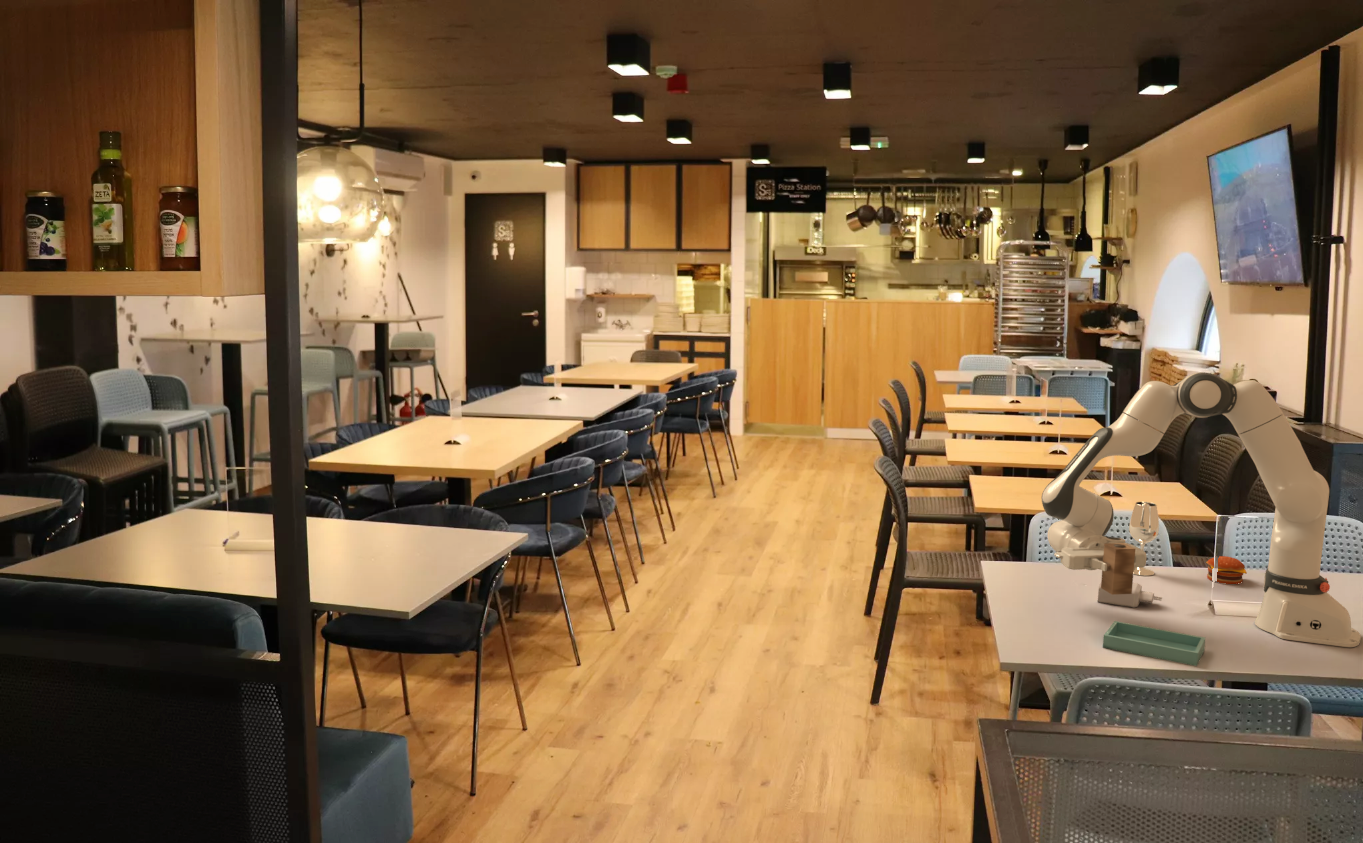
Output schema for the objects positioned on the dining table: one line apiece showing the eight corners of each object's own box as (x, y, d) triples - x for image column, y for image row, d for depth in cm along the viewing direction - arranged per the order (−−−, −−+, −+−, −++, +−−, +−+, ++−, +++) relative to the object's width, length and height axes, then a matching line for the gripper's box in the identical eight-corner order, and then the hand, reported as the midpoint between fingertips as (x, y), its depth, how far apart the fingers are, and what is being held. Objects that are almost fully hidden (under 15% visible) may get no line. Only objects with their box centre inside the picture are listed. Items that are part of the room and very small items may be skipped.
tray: (1204, 650, 259) (1205, 637, 258) (1196, 666, 249) (1197, 653, 248) (1113, 632, 269) (1114, 620, 269) (1102, 647, 259) (1103, 635, 259)
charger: (1159, 613, 285) (1097, 603, 292) (1162, 603, 293) (1102, 594, 300) (1160, 595, 284) (1098, 585, 291) (1164, 585, 292) (1103, 576, 299)
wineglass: (1119, 569, 322) (1125, 502, 319) (1139, 567, 325) (1145, 499, 322) (1140, 577, 315) (1146, 508, 312) (1161, 574, 318) (1167, 505, 315)
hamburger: (1237, 576, 318) (1239, 554, 317) (1246, 586, 308) (1249, 563, 307) (1201, 574, 320) (1204, 551, 318) (1210, 583, 310) (1212, 560, 309)
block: (1120, 587, 269) (1123, 542, 267) (1131, 593, 264) (1135, 548, 263) (1100, 588, 268) (1104, 543, 267) (1112, 594, 264) (1115, 548, 262)
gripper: (1051, 540, 276) (1080, 556, 262) (1128, 537, 279) (1160, 553, 266) (1050, 565, 277) (1078, 582, 263) (1126, 562, 280) (1158, 578, 267)
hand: (1120, 567), depth 264 cm, fingers closed on block, 5 cm apart
